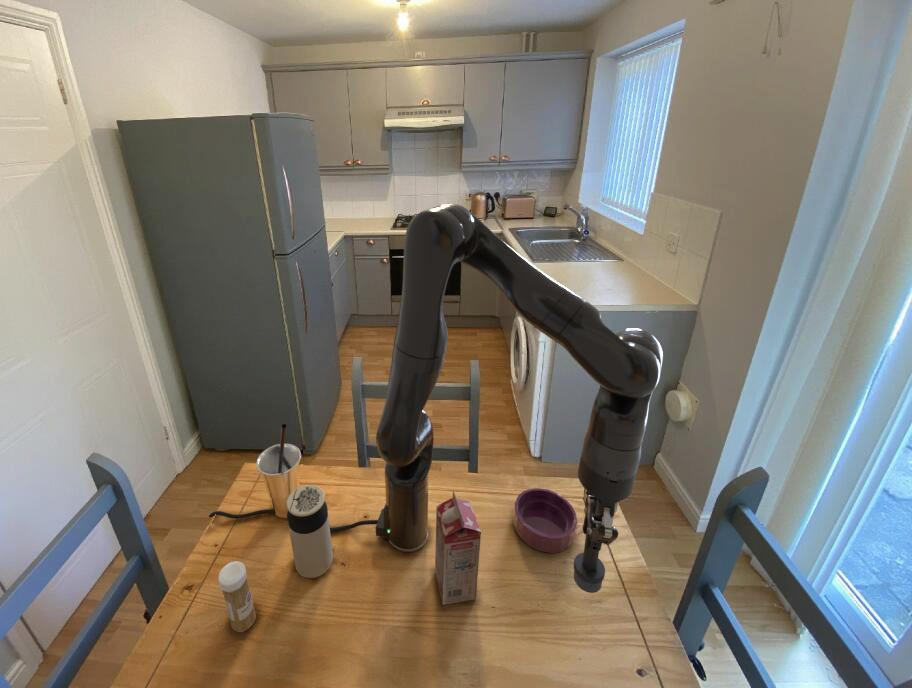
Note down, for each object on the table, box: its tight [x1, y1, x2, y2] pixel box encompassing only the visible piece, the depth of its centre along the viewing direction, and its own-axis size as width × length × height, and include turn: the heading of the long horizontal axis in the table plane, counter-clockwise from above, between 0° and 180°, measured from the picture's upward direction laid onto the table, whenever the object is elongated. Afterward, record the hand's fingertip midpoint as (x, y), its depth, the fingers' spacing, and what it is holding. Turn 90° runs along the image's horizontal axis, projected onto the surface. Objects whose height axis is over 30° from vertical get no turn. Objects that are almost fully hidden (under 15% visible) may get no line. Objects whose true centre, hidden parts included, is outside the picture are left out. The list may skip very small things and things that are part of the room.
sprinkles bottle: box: [217, 560, 257, 633], centre depth 77 cm, size 5×5×14 cm
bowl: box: [512, 487, 578, 554], centre depth 96 cm, size 13×13×5 cm
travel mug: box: [286, 484, 334, 579], centre depth 87 cm, size 8×8×18 cm
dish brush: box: [573, 522, 606, 594], centre depth 69 cm, size 5×5×15 cm
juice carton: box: [434, 490, 482, 606], centre depth 81 cm, size 7×7×22 cm
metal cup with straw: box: [256, 423, 302, 519], centre depth 97 cm, size 11×11×30 cm
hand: (590, 540), depth 69 cm, fingers closed on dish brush
